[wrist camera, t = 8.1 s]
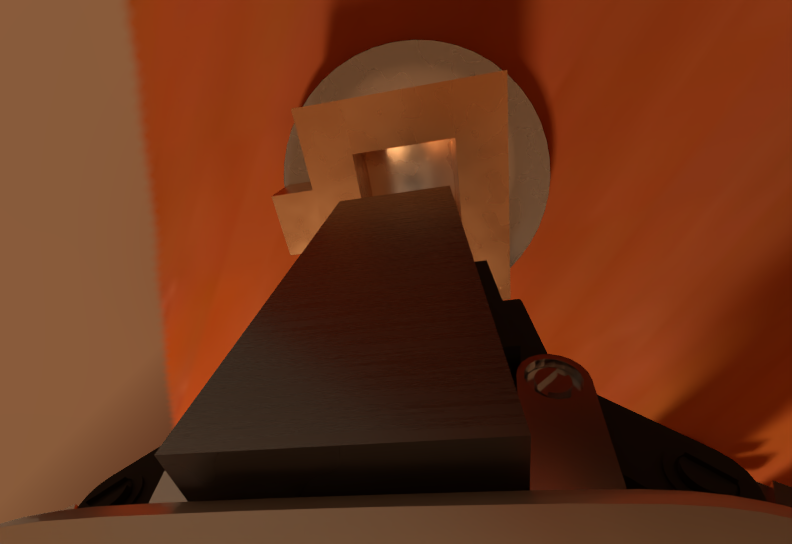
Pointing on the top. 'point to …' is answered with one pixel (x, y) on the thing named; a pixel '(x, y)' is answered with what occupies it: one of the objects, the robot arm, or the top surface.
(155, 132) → the top surface
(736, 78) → the top surface
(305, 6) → the top surface
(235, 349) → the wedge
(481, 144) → the beige piece
